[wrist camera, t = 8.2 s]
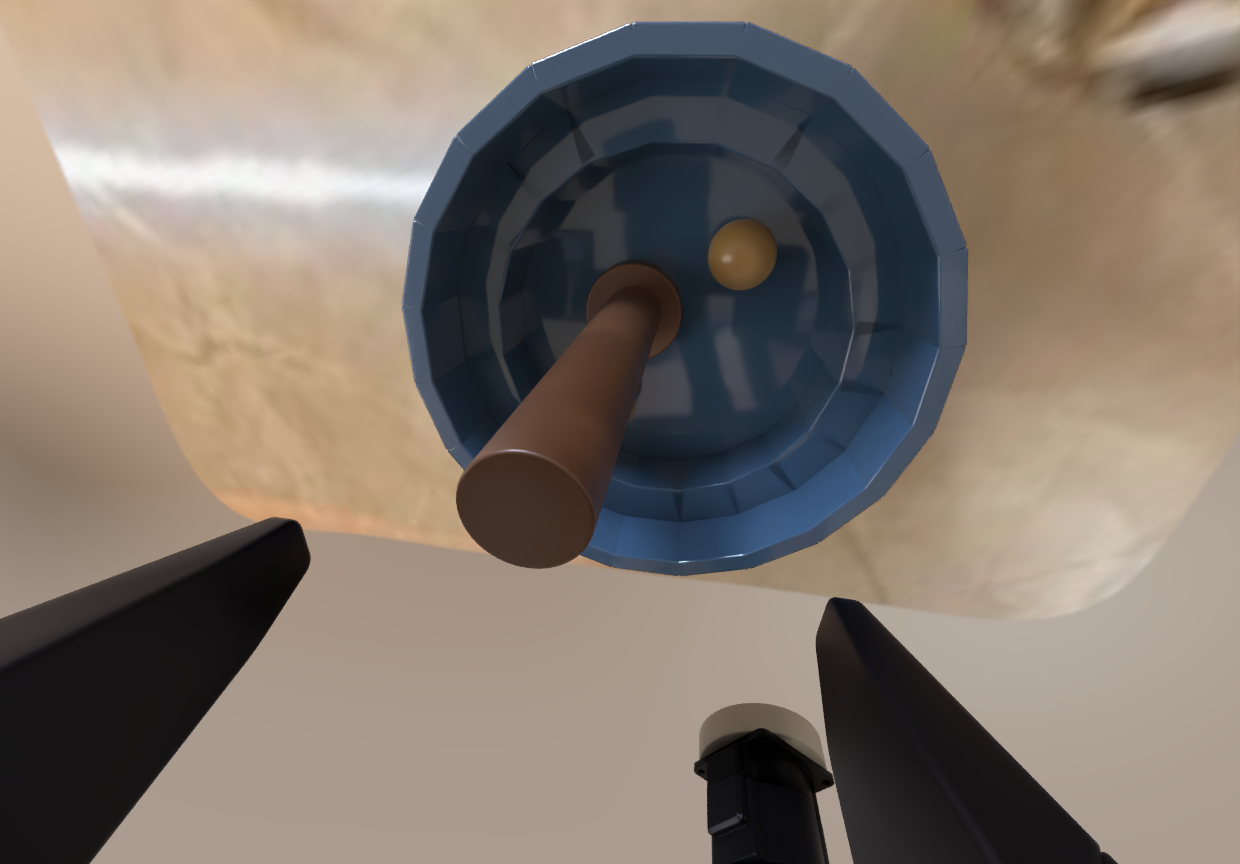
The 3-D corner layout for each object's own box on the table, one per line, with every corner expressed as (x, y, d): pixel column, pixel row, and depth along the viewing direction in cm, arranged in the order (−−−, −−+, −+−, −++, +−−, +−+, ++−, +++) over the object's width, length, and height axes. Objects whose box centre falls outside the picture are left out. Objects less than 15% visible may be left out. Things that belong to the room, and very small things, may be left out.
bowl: (990, 294, 15) (1109, 336, 11) (688, 546, 21) (685, 639, 17) (643, -56, 13) (613, -188, 8) (415, 343, 19) (327, 389, 14)
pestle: (701, 319, 16) (705, 548, 6) (627, 371, 17) (520, 638, 7) (644, 238, 15) (529, 337, 5) (571, 299, 17) (352, 482, 6)
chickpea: (789, 235, 15) (796, 262, 13) (743, 285, 16) (744, 314, 14) (739, 194, 14) (739, 217, 13) (695, 249, 15) (691, 275, 14)
